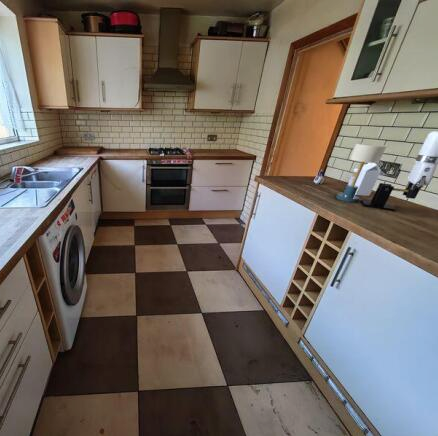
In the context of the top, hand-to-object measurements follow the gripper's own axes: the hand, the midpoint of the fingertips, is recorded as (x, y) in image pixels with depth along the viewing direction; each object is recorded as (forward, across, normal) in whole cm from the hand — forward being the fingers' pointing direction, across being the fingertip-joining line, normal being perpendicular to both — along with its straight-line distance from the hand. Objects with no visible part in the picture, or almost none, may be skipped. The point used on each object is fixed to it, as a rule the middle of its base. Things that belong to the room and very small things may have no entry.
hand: (408, 196), depth 113 cm
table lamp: (+7, +4, +22) cm, 23 cm away
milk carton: (+7, +21, +14) cm, 26 cm away
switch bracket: (+7, 0, +10) cm, 12 cm away
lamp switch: (-1, 0, +4) cm, 4 cm away
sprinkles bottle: (+7, +29, +17) cm, 34 cm away
